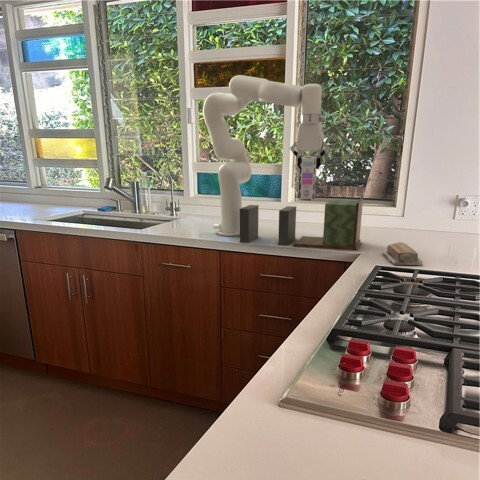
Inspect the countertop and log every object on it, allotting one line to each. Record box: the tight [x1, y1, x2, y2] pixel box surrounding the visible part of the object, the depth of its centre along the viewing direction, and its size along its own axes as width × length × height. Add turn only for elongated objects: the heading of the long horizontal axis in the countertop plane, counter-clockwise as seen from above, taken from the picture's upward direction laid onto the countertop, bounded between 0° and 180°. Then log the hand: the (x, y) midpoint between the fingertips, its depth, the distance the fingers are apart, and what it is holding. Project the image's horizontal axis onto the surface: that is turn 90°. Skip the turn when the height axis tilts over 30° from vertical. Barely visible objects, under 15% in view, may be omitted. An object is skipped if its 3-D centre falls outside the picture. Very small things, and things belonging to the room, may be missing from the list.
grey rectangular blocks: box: [239, 204, 297, 246], centre depth 198 cm, size 21×14×14 cm, turn 71°
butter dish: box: [381, 242, 423, 266], centre depth 166 cm, size 18×5×10 cm
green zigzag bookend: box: [293, 197, 364, 251], centre depth 190 cm, size 25×17×18 cm
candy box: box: [298, 155, 317, 202], centre depth 186 cm, size 14×6×16 cm, turn 168°
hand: (308, 168), depth 185 cm, fingers closed on candy box, 6 cm apart
